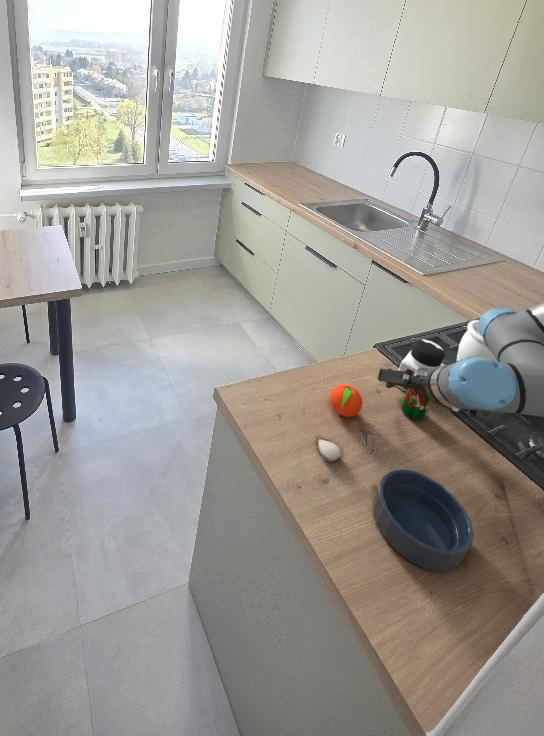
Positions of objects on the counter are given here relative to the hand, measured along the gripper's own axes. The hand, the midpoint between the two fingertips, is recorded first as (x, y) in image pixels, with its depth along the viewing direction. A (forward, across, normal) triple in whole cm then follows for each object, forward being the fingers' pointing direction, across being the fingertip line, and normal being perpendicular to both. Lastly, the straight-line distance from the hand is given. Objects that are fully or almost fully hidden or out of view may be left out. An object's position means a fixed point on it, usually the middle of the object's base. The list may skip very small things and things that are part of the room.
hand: (421, 392), depth 95 cm
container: (+13, +1, +2) cm, 13 cm away
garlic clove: (-9, -17, -20) cm, 27 cm away
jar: (+21, +15, +10) cm, 28 cm away
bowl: (-14, -1, -25) cm, 29 cm away
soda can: (+6, 0, -5) cm, 8 cm away
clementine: (0, -15, -10) cm, 18 cm away
